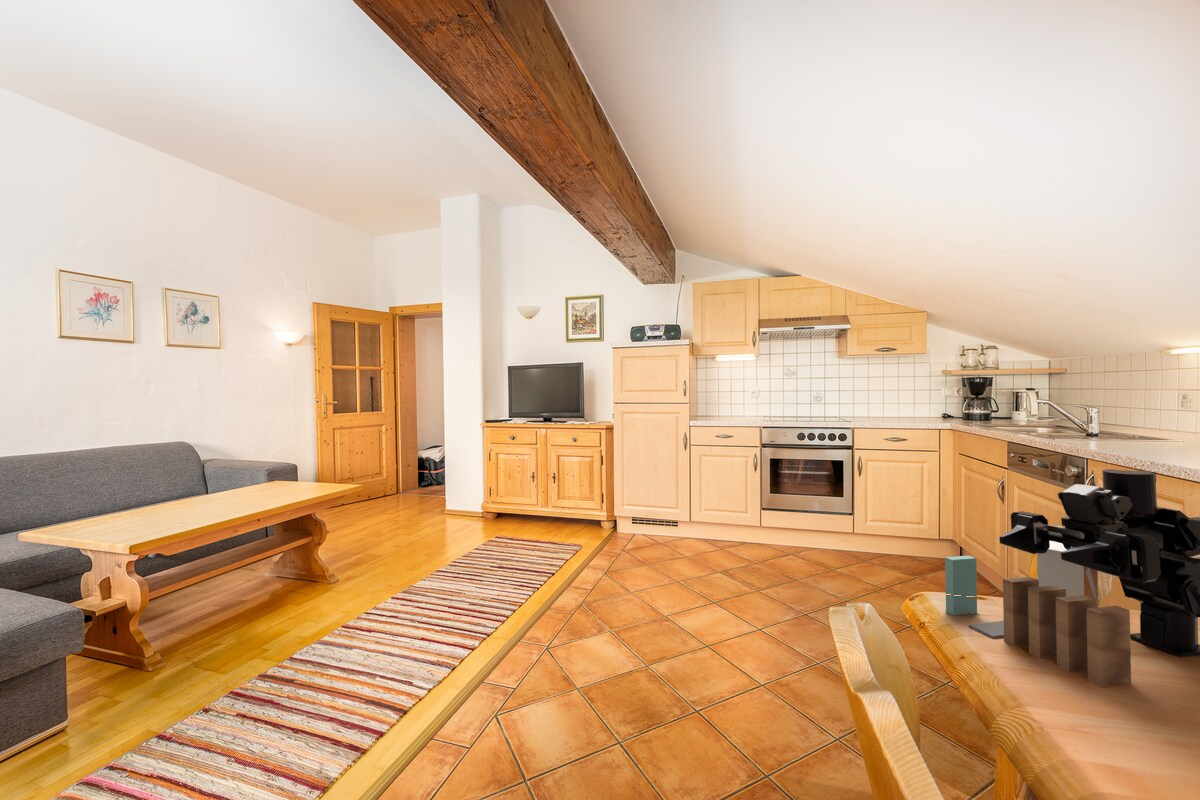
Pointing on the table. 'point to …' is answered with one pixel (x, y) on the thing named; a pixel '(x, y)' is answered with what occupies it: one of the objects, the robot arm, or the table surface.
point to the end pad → (990, 628)
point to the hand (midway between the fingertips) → (1029, 547)
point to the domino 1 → (961, 585)
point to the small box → (1066, 573)
